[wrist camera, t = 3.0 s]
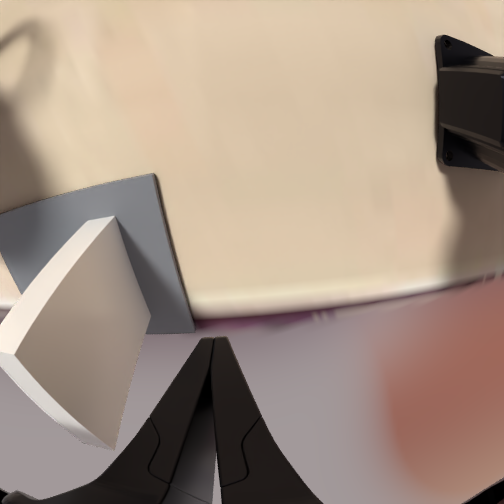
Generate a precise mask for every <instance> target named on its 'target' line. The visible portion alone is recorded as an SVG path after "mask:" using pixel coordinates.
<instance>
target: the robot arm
mask: <svg viewBox="0 0 504 504" xmlns="http://www.w3.org/2000/svg"><path fill="white" fill-rule="evenodd" d="M444 42H445V43H446V45H447V48H446V47H445V44H444ZM435 45H436V54H437V65H438V80H439V136H438V152H437V155H438V159H439V161H440V162H441V163H443V164H445V165H447V166H455V167H467V168H477V169H486V170H494V171H501V172H503V173H504V57H495V56H493V55H491V54H489V53H487V52H485V51H483V50H481V49H478V48H476V47H474V46H472V45H470V44H467V43H465V42H463V41H460V40H458V39H455V38H453V37H450V36H448V35H439V36H437V37H436V39H435ZM447 152H448V157H447V158H446V153H447ZM216 453H217V463H218V472H219V480H220V487H221V499H222V504H323V503H322V502H321V501H320V500H319V499H318V498H317V497H316V496H315V495H314V494H313V492H312V491H311V490H310V489H309V488H308V487H307V485H306V484H305V483H304V482H303V481H302V479H301V478H300V476H299V475H298V474H297V473H296V471H295V470H294V468H293V467H292V466H291V464H290V463H289V462H288V460H287V459H286V458H285V456H284V455H283V453H282V452H281V450H280V449H279V447H278V446H277V444H276V443H275V441H274V439H273V437H272V436H271V433H270V432H269V430H268V428H267V426H266V424H265V421H264V419H263V418H262V415H261V413H260V411H259V409H258V407H257V404H256V402H255V400H254V398H253V395H252V393H251V391H250V389H249V386H248V384H247V382H246V380H245V377H244V375H243V373H242V371H241V368H240V366H239V363H238V361H237V359H236V356H235V354H234V352H233V349H232V347H231V344H230V342H229V339H228V337H227V336H220V337H215V338H214V337H204V338H202V339H201V340H200V341H199V343H198V344H197V346H196V348H195V349H194V350H193V352H192V353H191V355H190V356H189V358H188V359H187V361H186V362H185V364H184V365H183V367H182V368H181V370H180V371H179V373H178V374H177V376H176V377H175V379H174V380H173V382H172V383H171V385H170V386H169V388H168V389H167V391H166V392H165V394H164V395H163V397H162V398H161V400H160V401H159V403H158V404H157V406H156V407H155V409H154V410H153V411H152V413H151V414H150V418H148V419H147V420H146V422H145V423H144V425H143V426H142V427H141V429H140V430H139V432H138V433H137V435H136V436H135V437H134V438H133V440H132V441H131V442H130V443H129V444H128V446H127V447H126V448H125V449H124V450H123V452H122V453H121V454H120V455H119V456H118V457H117V458H116V459H115V460H114V462H113V463H112V464H111V465H110V466H109V467H108V468H107V469H106V470H105V471H104V472H103V474H101V475H100V476H99V477H98V478H97V479H95V480H94V481H92V482H90V483H89V484H86V485H84V486H81V487H79V488H76V489H73V490H71V491H68V492H65V493H62V494H59V495H56V496H53V497H50V498H47V499H43V500H38V499H36V498H34V497H31V496H29V495H27V494H25V493H23V492H20V491H14V492H12V493H8V492H7V491H5V490H3V489H1V488H0V504H212V498H213V485H214V473H215V461H216ZM462 504H504V478H502V479H500V480H499V481H498V482H496V483H494V484H493V485H491V486H489V487H488V488H486V489H484V490H483V491H481V492H479V493H478V494H476V495H475V496H473V497H472V498H470V499H469V500H467V501H465V502H464V503H462Z"/></svg>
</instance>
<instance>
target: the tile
mask: <svg viewBox="0 0 504 504" xmlns="http://www.w3.org/2000/svg"><path fill="white" fill-rule="evenodd" d="M150 318H151V314H150V312H149V309H148V307H147V304H146V302H145V300H144V297H143V295H142V292H141V289H140V287H139V284H138V282H137V279H136V276H135V274H134V271H133V268H132V265H131V263H130V260H129V257H128V254H127V251H126V248H125V245H124V242H123V239H122V236H121V233H120V230H119V227H118V223H117V220H116V217H115V216H110V217H105V218H99V219H94V220H88V221H87V222H86V223H85V224H84V225H83V226H82V227H81V228H80V229H79V230H78V231H77V232H76V233H75V234H74V235H73V236H72V237H71V238H70V239H69V240H68V241H67V242H66V243H65V244H64V245H63V247H62V248H61V249H60V250H59V251H58V252H57V253H56V254H55V255H54V257H53V258H52V259H51V260H50V261H49V262H48V263H47V265H46V266H45V267H44V268H43V269H42V270H41V272H40V273H39V274H38V275H37V276H36V278H35V279H34V280H33V281H32V283H31V284H30V285H29V286H28V288H27V289H26V290H25V291H24V293H23V294H22V295H21V297H20V298H19V299H18V301H17V302H16V303H15V305H14V306H13V308H12V309H11V310H10V312H9V313H8V315H7V316H6V317H5V319H4V320H3V322H2V323H1V325H0V366H1V367H2V368H3V370H4V371H5V372H6V373H7V374H8V375H9V376H10V377H11V379H12V380H13V381H14V382H15V383H16V384H17V385H18V386H19V387H20V388H21V389H22V390H23V391H24V392H25V393H26V394H27V395H28V396H29V397H30V398H31V399H32V400H33V401H34V402H35V403H36V404H37V405H38V406H39V407H40V408H41V409H42V410H43V411H44V412H45V413H47V414H48V415H49V416H50V417H51V418H52V419H53V420H55V421H56V422H57V423H58V424H59V425H61V426H62V427H63V428H64V429H66V430H67V431H68V432H69V433H71V434H72V435H73V436H74V437H76V438H77V439H78V440H80V441H81V442H82V443H84V444H88V445H92V446H96V447H100V448H104V449H109V450H113V451H114V450H115V447H116V442H117V437H118V433H119V429H120V424H121V420H122V415H123V411H124V408H125V403H126V400H127V396H128V392H129V388H130V384H131V381H132V377H133V374H134V370H135V366H136V363H137V360H138V356H139V353H140V350H141V346H142V343H143V340H144V336H145V333H146V330H147V327H148V324H149V321H150Z"/></svg>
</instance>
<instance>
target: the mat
mask: <svg viewBox="0 0 504 504" xmlns="http://www.w3.org/2000/svg"><path fill="white" fill-rule="evenodd" d="M110 216H115V217H116V220H117V223H118V227H119V230H120V233H121V236H122V239H123V242H124V245H125V248H126V251H127V254H128V257H129V260H130V263H131V265H132V268H133V271H134V274H135V276H136V279H137V282H138V284H139V287H140V289H141V292H142V295H143V297H144V300H145V302H146V304H147V307H148V309H149V312H150V314H151V318H150V321H149V324H148V327H147V330H146V333H145V334H180V333H195V331H196V328H195V325H194V322H193V319H192V316H191V313H190V310H189V306H188V303H187V300H186V297H185V293H184V290H183V287H182V283H181V280H180V276H179V273H178V269H177V266H176V262H175V258H174V255H173V251H172V247H171V243H170V240H169V236H168V232H167V228H166V224H165V220H164V215H163V211H162V207H161V202H160V198H159V194H158V189H157V184H156V180H155V175H154V173H152V174H147V175H141V176H136V177H131V178H127V179H122V180H117V181H113V182H108V183H104V184H100V185H95V186H91V187H87V188H83V189H79V190H76V191H72V192H68V193H64V194H61V195H57V196H54V197H50V198H47V199H44V200H40V201H37V202H34V203H31V204H28V205H25V206H22V207H19V208H16V209H13V210H10V211H7V212H4V213H1V214H0V252H1V254H2V257H3V259H4V261H5V263H6V265H7V267H8V269H9V271H10V274H11V276H12V277H13V279H14V281H15V283H16V285H17V287H18V289H19V291H20V293H21V294H23V293H24V291H25V290H26V289H27V288H28V286H29V285H30V284H31V283H32V281H33V280H34V279H35V278H36V276H37V275H38V274H39V273H40V272H41V270H42V269H43V268H44V267H45V266H46V265H47V263H48V262H49V261H50V260H51V259H52V258H53V257H54V255H55V254H56V253H57V252H58V251H59V250H60V249H61V248H62V247H63V245H64V244H65V243H66V242H67V241H68V240H69V239H70V238H71V237H72V236H73V235H74V234H75V233H76V232H77V231H78V230H79V229H80V228H81V227H82V226H83V225H84V224H85V223H86V222H87V221H88V220H94V219H99V218H105V217H110Z"/></svg>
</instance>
